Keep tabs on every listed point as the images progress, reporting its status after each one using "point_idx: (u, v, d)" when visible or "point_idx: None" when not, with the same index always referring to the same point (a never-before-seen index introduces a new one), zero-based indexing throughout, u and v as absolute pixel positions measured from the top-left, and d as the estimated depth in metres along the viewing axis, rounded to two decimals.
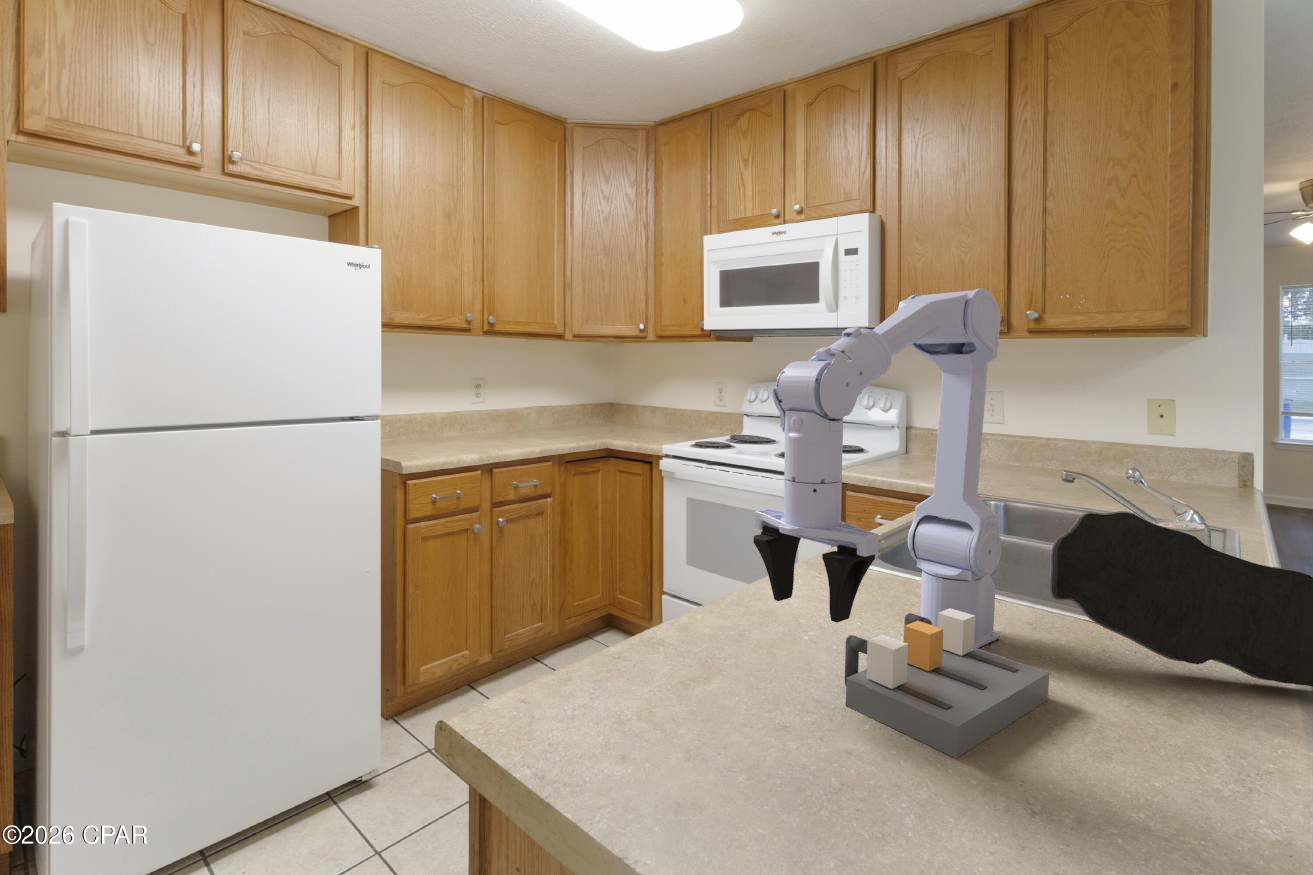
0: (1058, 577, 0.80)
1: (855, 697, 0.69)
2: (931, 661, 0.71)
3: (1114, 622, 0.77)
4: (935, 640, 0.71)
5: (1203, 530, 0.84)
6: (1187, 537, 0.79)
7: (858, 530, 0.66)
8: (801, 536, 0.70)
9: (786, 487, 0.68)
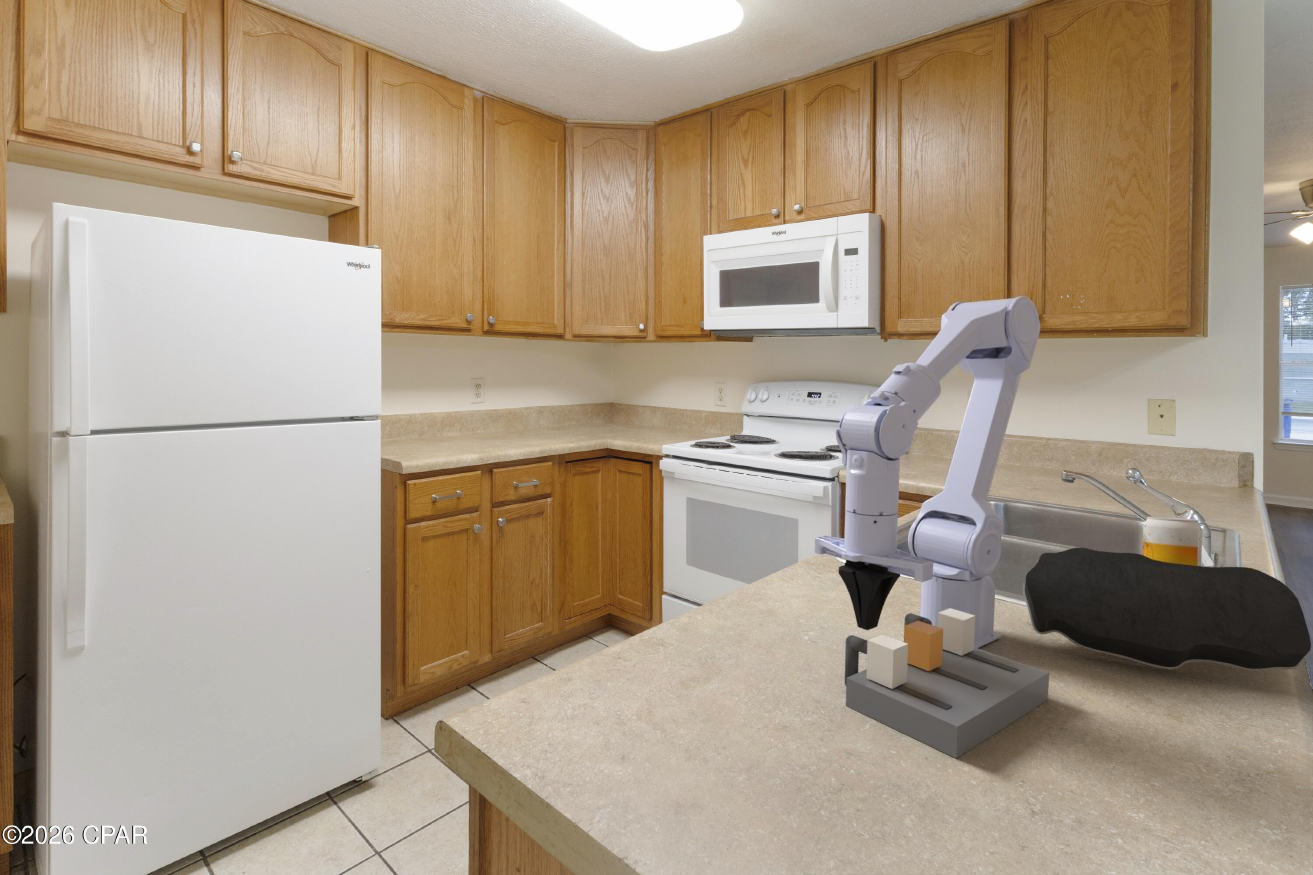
0: (1033, 604, 0.85)
1: (855, 697, 0.69)
2: (931, 661, 0.71)
3: (1096, 631, 0.80)
4: (935, 640, 0.71)
5: (1196, 522, 0.86)
6: (1135, 556, 0.86)
7: (914, 557, 0.74)
8: None
9: (848, 518, 0.76)
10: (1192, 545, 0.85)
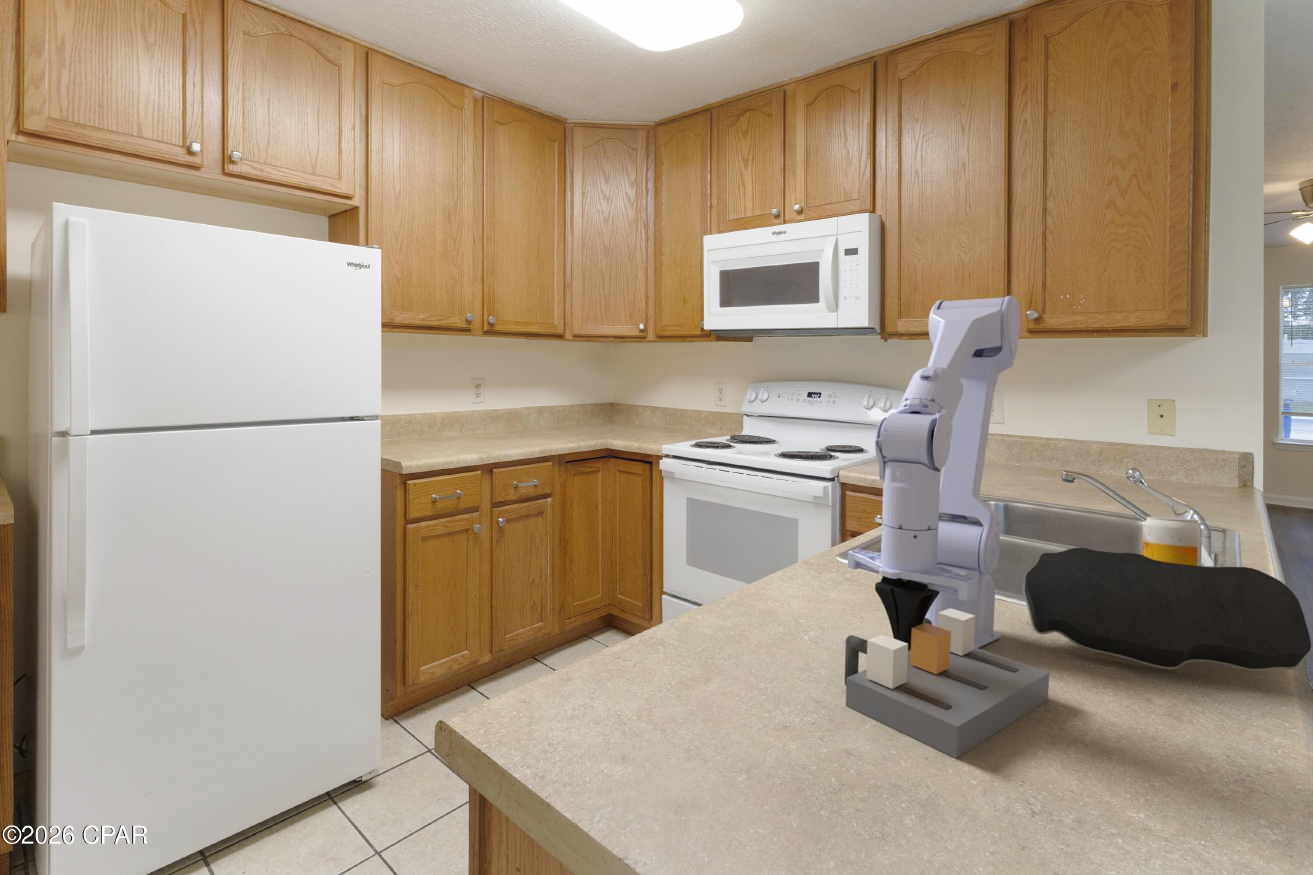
0: (1033, 604, 0.85)
1: (855, 697, 0.69)
2: (939, 664, 0.70)
3: (1096, 631, 0.80)
4: (942, 643, 0.70)
5: (1196, 522, 0.86)
6: (1135, 556, 0.86)
7: (956, 574, 0.70)
8: None
9: (885, 532, 0.72)
10: (1192, 545, 0.85)
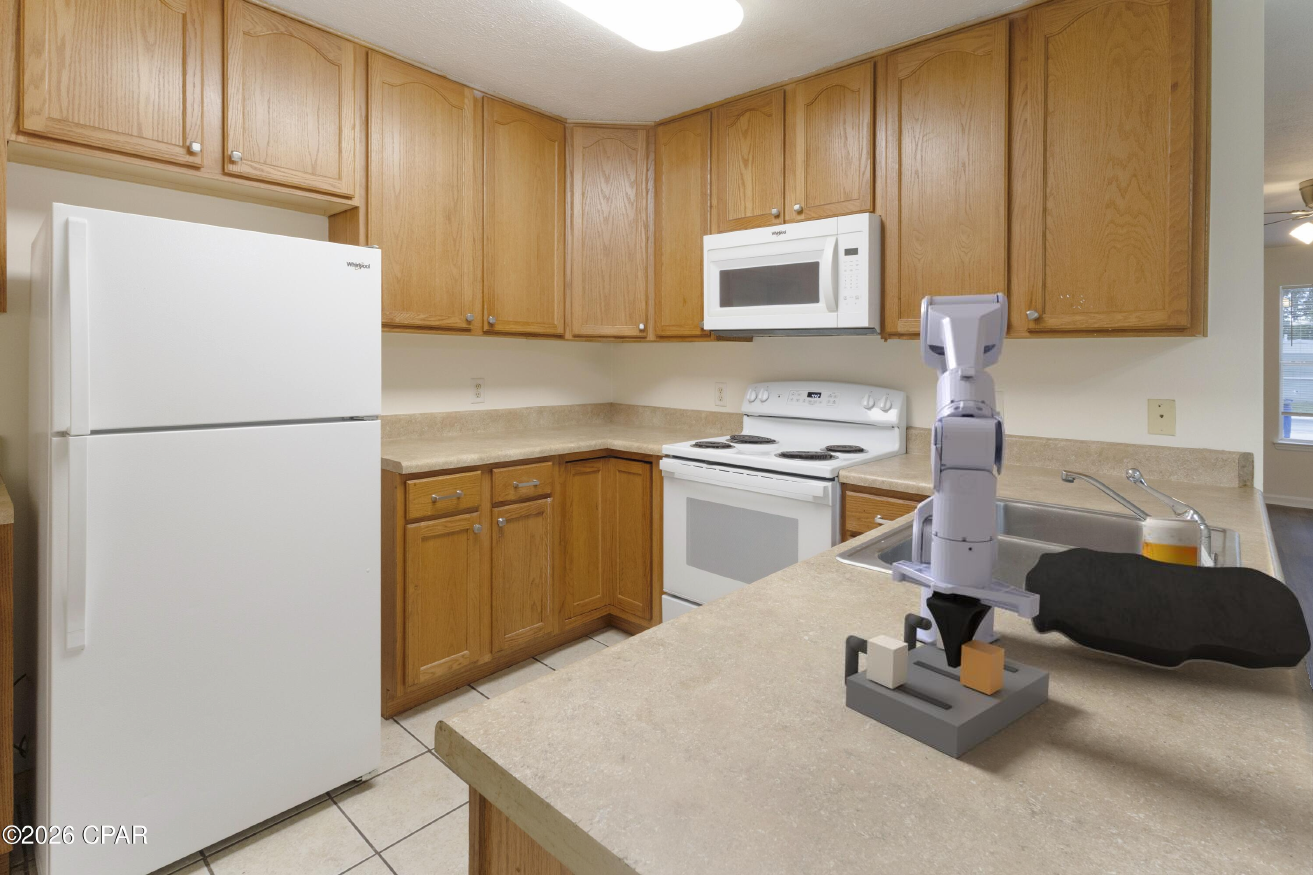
0: None
1: (855, 697, 0.69)
2: (992, 684, 0.66)
3: (1096, 631, 0.80)
4: (996, 661, 0.66)
5: (1196, 522, 0.86)
6: (1135, 556, 0.86)
7: (1014, 589, 0.65)
8: None
9: (936, 544, 0.68)
10: (1192, 545, 0.85)
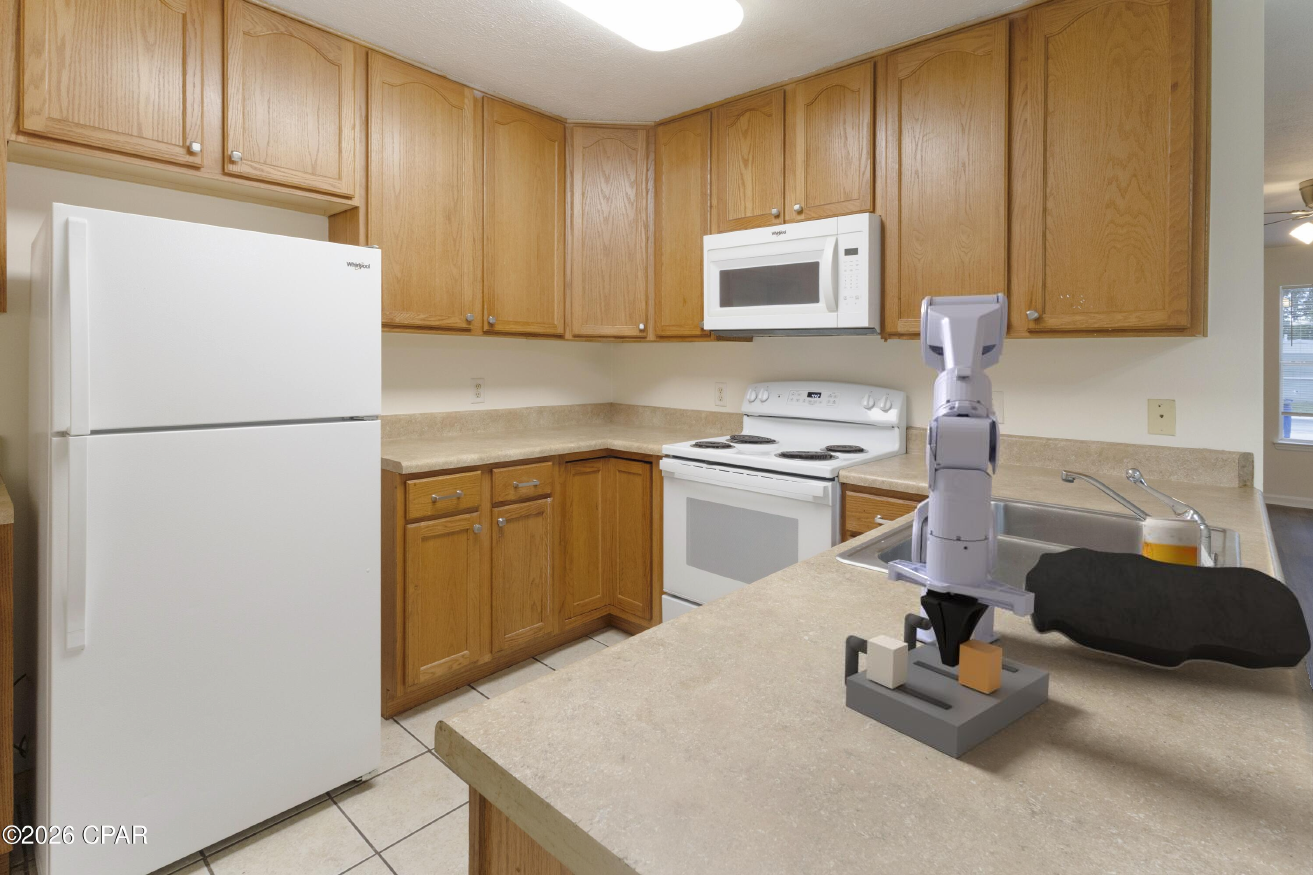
0: None
1: (855, 697, 0.69)
2: (990, 683, 0.66)
3: (1096, 631, 0.80)
4: (994, 660, 0.66)
5: (1196, 521, 0.86)
6: (1135, 556, 0.86)
7: (1009, 588, 0.66)
8: None
9: (932, 543, 0.68)
10: (1192, 545, 0.85)
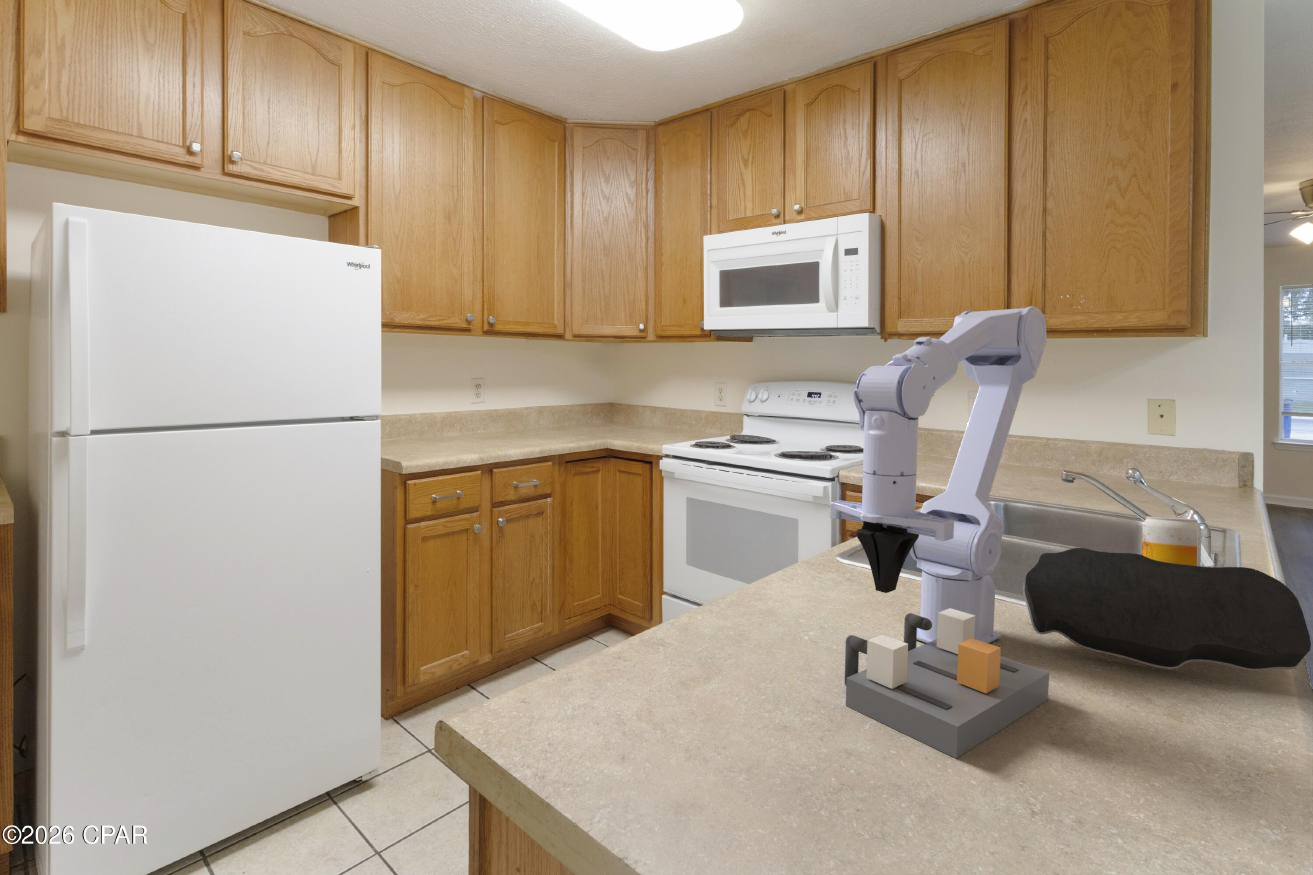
0: (1033, 604, 0.85)
1: (855, 697, 0.69)
2: (988, 682, 0.66)
3: (1096, 631, 0.80)
4: (992, 660, 0.66)
5: (1195, 521, 0.86)
6: (1135, 556, 0.86)
7: (933, 518, 0.73)
8: None
9: (866, 480, 0.75)
10: (1191, 544, 0.85)
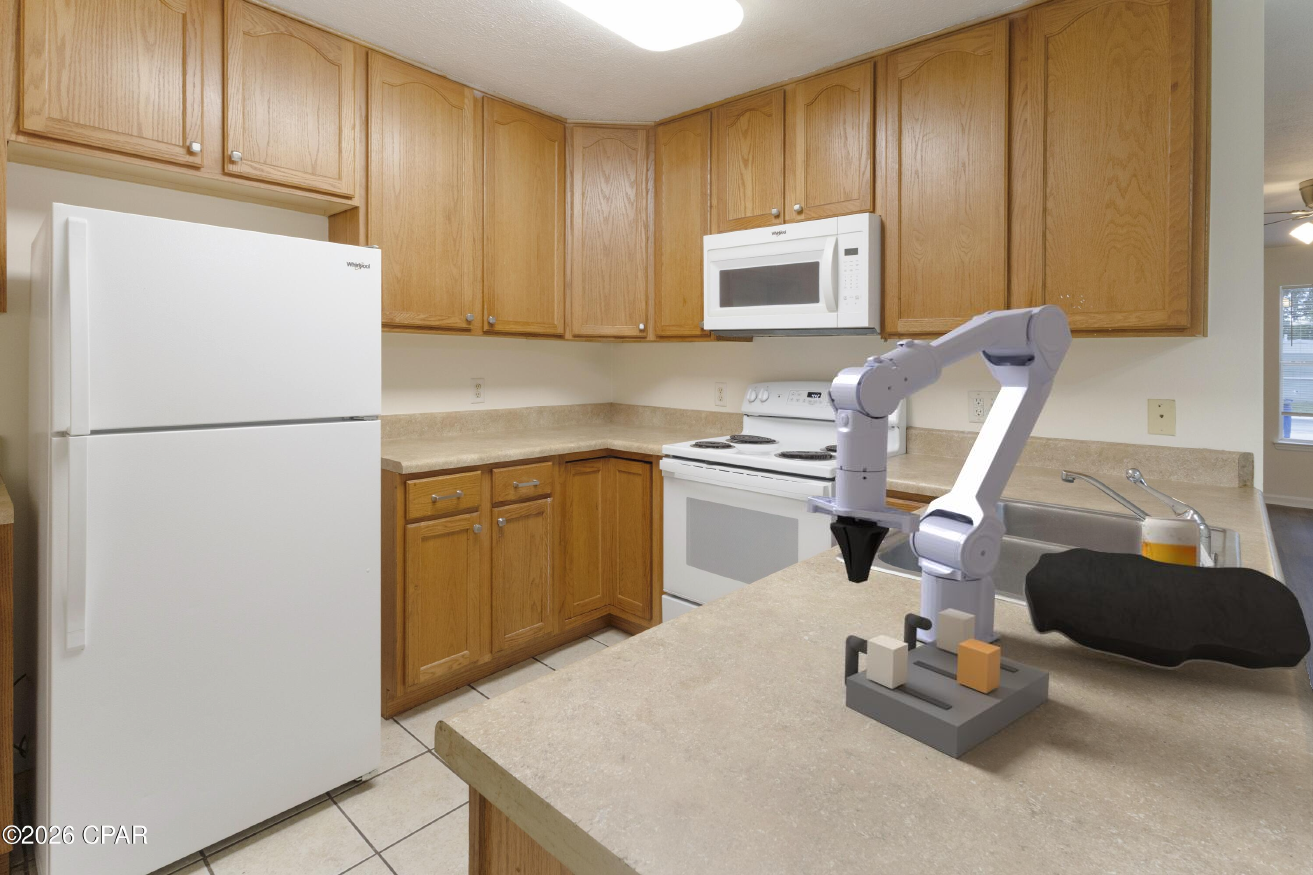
0: (1033, 604, 0.85)
1: (855, 697, 0.69)
2: (988, 682, 0.66)
3: (1096, 631, 0.80)
4: (992, 660, 0.66)
5: (1195, 521, 0.86)
6: (1135, 556, 0.86)
7: (901, 512, 0.77)
8: None
9: (838, 475, 0.79)
10: (1191, 544, 0.85)
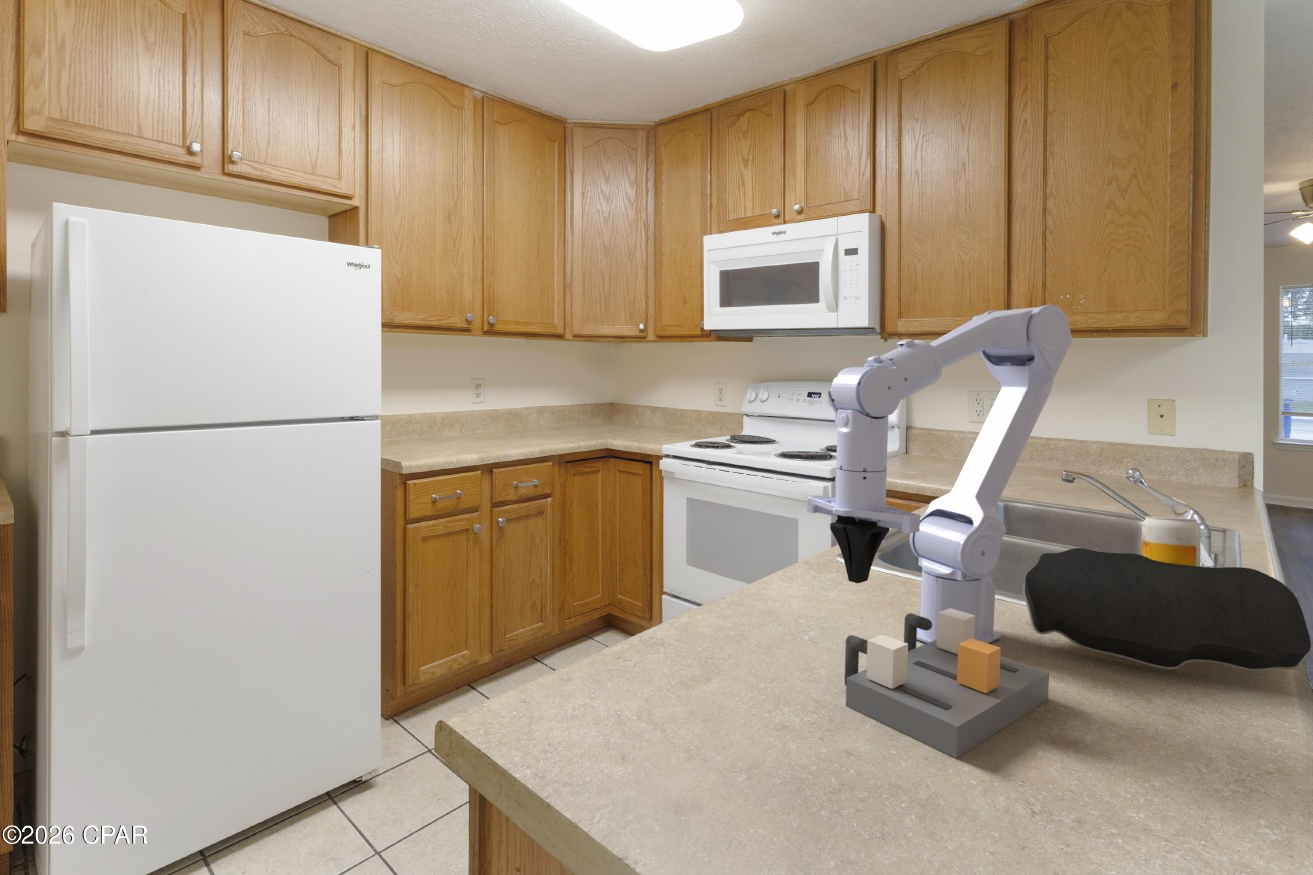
0: (1033, 604, 0.85)
1: (855, 697, 0.69)
2: (988, 682, 0.66)
3: (1096, 631, 0.80)
4: (992, 660, 0.66)
5: (1195, 521, 0.86)
6: (1135, 556, 0.86)
7: (901, 512, 0.77)
8: None
9: (838, 475, 0.79)
10: (1191, 544, 0.85)
